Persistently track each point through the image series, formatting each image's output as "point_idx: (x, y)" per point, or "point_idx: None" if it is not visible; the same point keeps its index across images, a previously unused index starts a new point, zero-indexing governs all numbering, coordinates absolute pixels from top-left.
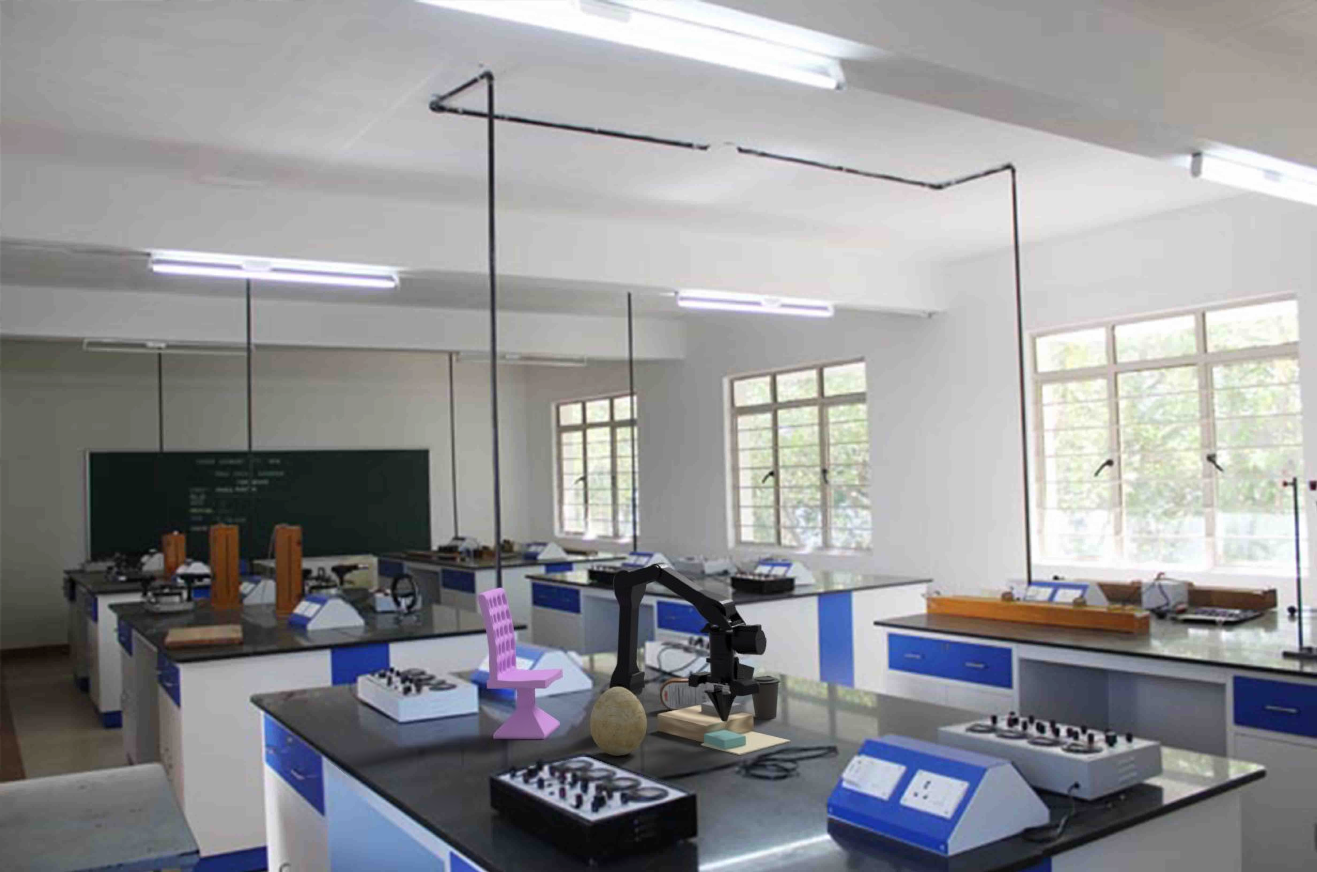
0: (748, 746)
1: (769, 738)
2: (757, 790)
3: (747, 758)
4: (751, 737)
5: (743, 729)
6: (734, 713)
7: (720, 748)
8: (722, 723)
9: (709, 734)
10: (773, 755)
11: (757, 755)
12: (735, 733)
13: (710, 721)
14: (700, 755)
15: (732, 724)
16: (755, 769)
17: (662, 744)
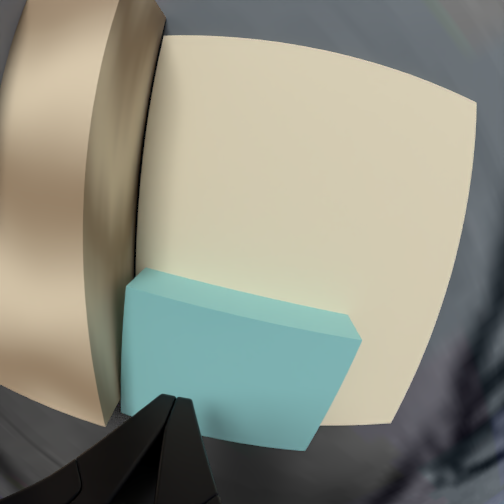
0: (374, 329)
1: (378, 113)
2: (489, 489)
3: (429, 422)
4: (267, 150)
5: (139, 86)
6: (7, 52)
7: None
8: (92, 303)
9: None
10: (496, 342)
11: (450, 380)
12: (261, 328)
13: (32, 333)
14: (260, 480)
15: (103, 190)
16: (472, 452)
17: (54, 430)
